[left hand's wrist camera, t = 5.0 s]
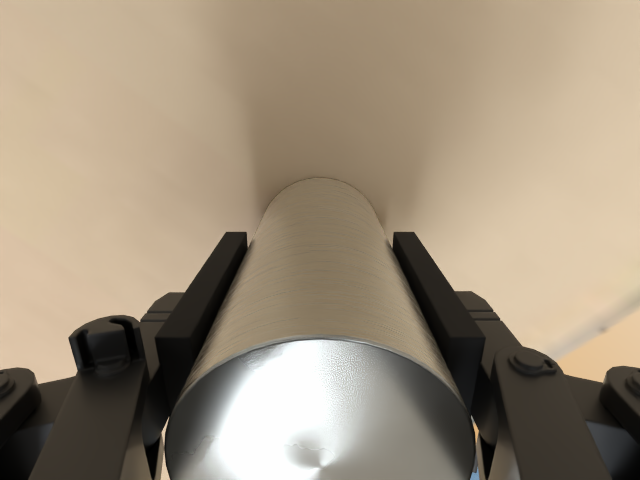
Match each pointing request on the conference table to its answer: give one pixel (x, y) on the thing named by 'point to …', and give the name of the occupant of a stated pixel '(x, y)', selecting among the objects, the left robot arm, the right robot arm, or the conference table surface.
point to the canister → (320, 360)
